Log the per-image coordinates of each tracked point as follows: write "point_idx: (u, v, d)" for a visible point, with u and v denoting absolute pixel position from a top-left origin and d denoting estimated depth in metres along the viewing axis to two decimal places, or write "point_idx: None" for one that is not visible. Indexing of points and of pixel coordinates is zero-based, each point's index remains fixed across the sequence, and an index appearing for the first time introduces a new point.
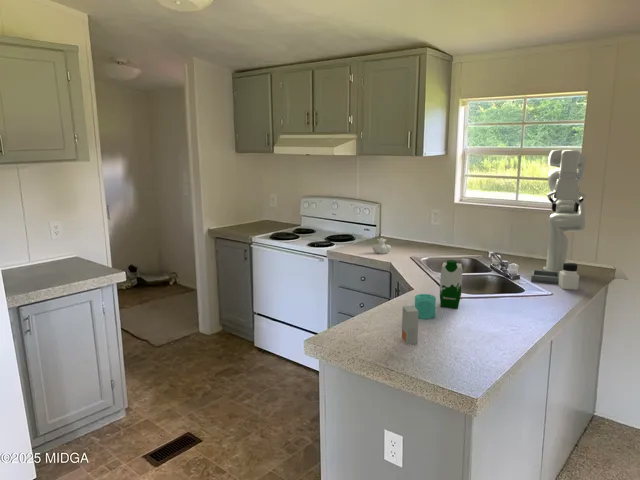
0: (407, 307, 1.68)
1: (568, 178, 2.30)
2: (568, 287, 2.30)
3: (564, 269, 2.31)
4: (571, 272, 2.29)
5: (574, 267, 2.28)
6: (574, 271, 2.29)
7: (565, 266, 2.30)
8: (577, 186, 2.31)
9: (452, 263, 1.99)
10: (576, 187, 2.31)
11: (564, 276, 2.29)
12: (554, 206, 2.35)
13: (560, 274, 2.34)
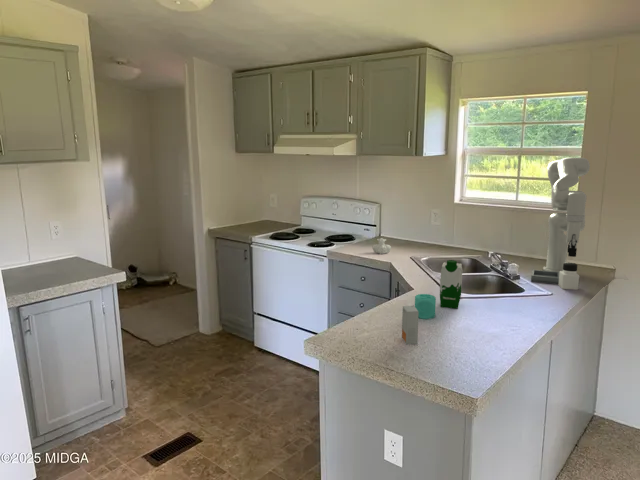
0: (407, 307, 1.68)
1: (583, 221, 2.25)
2: (568, 287, 2.30)
3: (564, 269, 2.31)
4: (571, 272, 2.29)
5: (574, 267, 2.28)
6: (574, 271, 2.29)
7: (565, 266, 2.30)
8: None
9: (452, 263, 1.99)
10: None
11: (564, 276, 2.29)
12: (575, 251, 2.24)
13: (560, 274, 2.34)
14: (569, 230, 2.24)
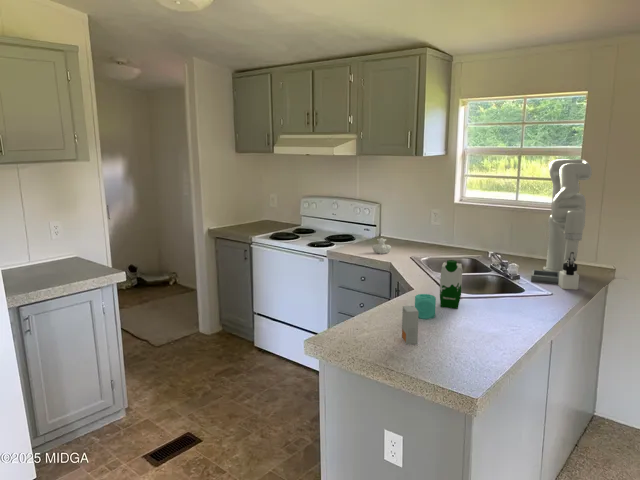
0: (407, 307, 1.68)
1: (581, 239, 2.26)
2: (568, 287, 2.30)
3: (564, 269, 2.31)
4: None
5: (574, 267, 2.28)
6: (574, 271, 2.29)
7: (565, 266, 2.30)
8: None
9: (452, 263, 1.99)
10: None
11: (564, 276, 2.29)
12: (573, 269, 2.27)
13: (560, 274, 2.34)
14: (567, 248, 2.26)
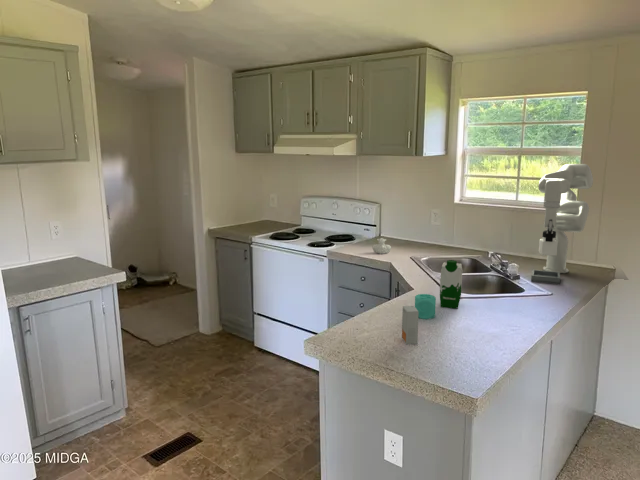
0: (407, 307, 1.68)
1: (560, 207, 2.38)
2: (547, 253, 2.41)
3: (543, 236, 2.42)
4: None
5: (553, 234, 2.40)
6: (553, 238, 2.40)
7: (544, 233, 2.42)
8: None
9: (452, 263, 1.99)
10: None
11: (543, 243, 2.41)
12: (552, 236, 2.38)
13: (540, 241, 2.45)
14: (546, 215, 2.37)
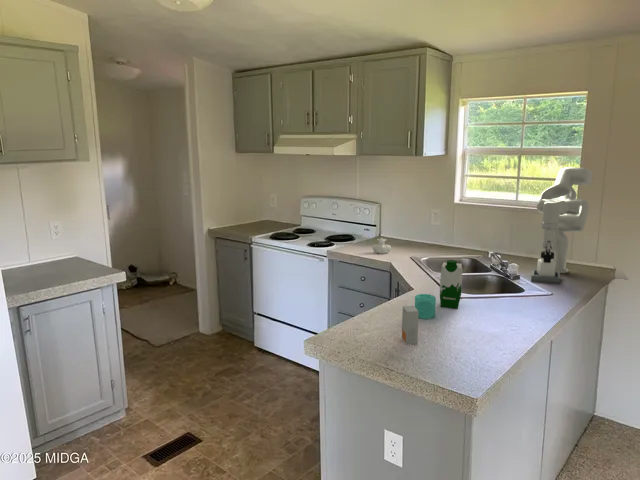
0: (407, 307, 1.68)
1: (558, 228, 2.40)
2: (545, 274, 2.43)
3: (542, 257, 2.44)
4: None
5: (551, 255, 2.42)
6: (551, 259, 2.42)
7: (542, 254, 2.44)
8: None
9: (452, 263, 1.99)
10: None
11: (541, 263, 2.43)
12: (550, 257, 2.40)
13: (538, 262, 2.48)
14: (544, 237, 2.40)
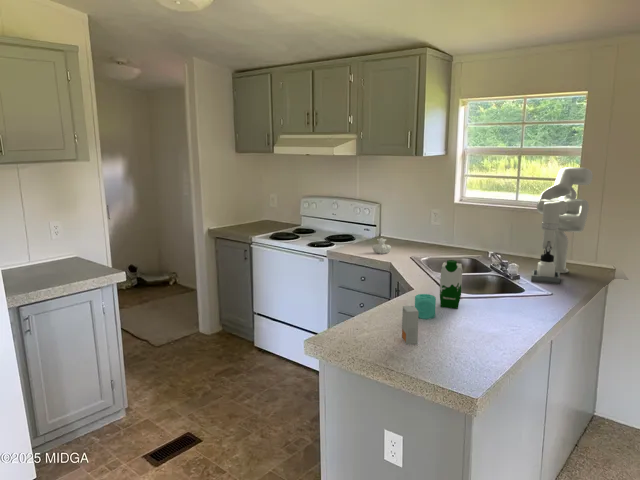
0: (407, 307, 1.68)
1: (558, 228, 2.40)
2: None
3: (541, 260, 2.45)
4: (548, 263, 2.43)
5: None
6: (550, 262, 2.43)
7: (542, 257, 2.44)
8: None
9: (452, 263, 1.99)
10: None
11: (541, 266, 2.43)
12: (550, 257, 2.40)
13: (538, 265, 2.48)
14: (544, 237, 2.40)
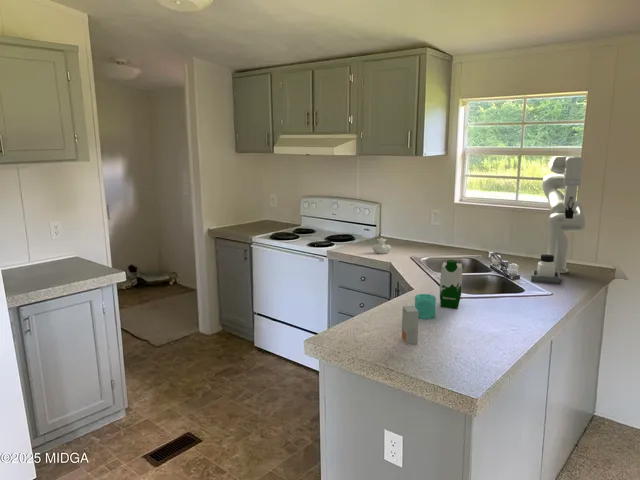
0: (407, 307, 1.68)
1: (580, 184, 2.34)
2: None
3: (541, 260, 2.45)
4: (548, 263, 2.43)
5: (550, 258, 2.42)
6: (550, 262, 2.43)
7: (542, 257, 2.44)
8: None
9: (452, 263, 1.99)
10: None
11: (541, 266, 2.43)
12: (572, 213, 2.34)
13: (538, 265, 2.48)
14: (566, 193, 2.34)
